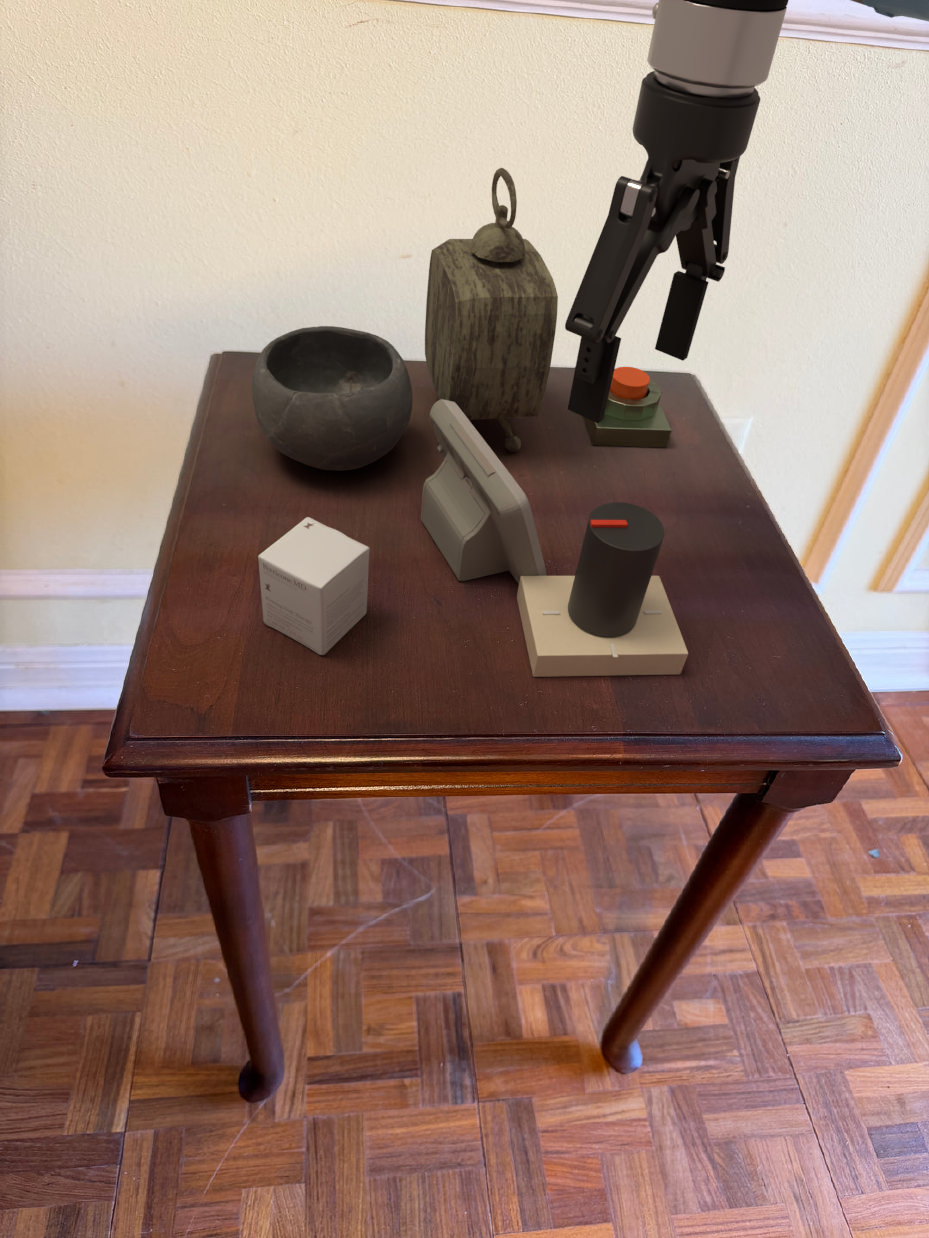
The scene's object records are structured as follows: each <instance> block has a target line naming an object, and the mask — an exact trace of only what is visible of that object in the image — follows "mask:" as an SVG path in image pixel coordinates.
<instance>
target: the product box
mask: <svg viewBox="0 0 929 1238" xmlns="http://www.w3.org/2000/svg"><path fill="white" fill-rule="evenodd" d="M370 550H371V549H370V547H369V546H368V545H366V544H363V543H361V542H359V541H358V540H355V539H353V538H351V537H349V536H347V535H346V534H344V533H343V532H341V531H340V530H338V529H335V528H333V527H330V526H327V525H326V524H323V523H322V522H319V521H317V520H315V519H314V518H312V517H309V516H306V517H305V518H304V519H302V520H301V521H300V522H299V523H298V524H296V525H295V526H293V528H291V529H290V530H289V531H288V532H286V533H285V534H283V536H281V537H280V538H279V539H277V541H275V542H273V543H272V544H271V545H269V547H267V548H266V549H265V550H264V551H262V552H261V553H259V554H258V556H257V559H258V561H257V562H258V573H259V584H260V595H261V608H262V621H263V623H264V624H265V625H266V627H267V626H268V627H269V628H271V629H273V630H276V631H278V632H279V633H281V634H283V635H284V636H288V637H289V638H291V639H293V640H294V641H296V642H297V643H299V644H301V645H303V646H305V647H306V648H308V649H309V650H311V651H312V652H314V653H316V654H318V655H319V656H325V655H326V654H327V653H328V652H329V651H330V650H331V649H332V648H333V647H334V646H335V645H336V644H337V643H338V642H339V641H340V640H341V639H343V637H344V636H345V635H346V634H347V633H348V632H349V631H350V630H351V629H352V628H353V627H355V625H356V624H358V622H360V621H361V620H362V619H363V618H364V616H366V615H367V614H368V613H367V611H368V595H369V573H370V571H369V570H370Z"/></svg>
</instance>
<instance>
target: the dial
mask: <svg viewBox="0 0 929 1238" xmlns="http://www.w3.org/2000/svg"><path fill="white" fill-rule="evenodd" d="M586 525H587V526H586V529H585V533H584V537H583V542H582V545H581V549H580V553H579V557H578V562H577V566H576V570H575V575H574V576H575V578H574V582H573V586H572V590H571V594H570V598H569V603H568V613H569V616H570V618H571V619H572V621H573V622H574V623H575V624H576V625H577V626H578V627H579V628H580V629H582V630H583V631H585V632H587V633H589V634H592V635H595V636H599V637H607V638H611V637H619V636H622V635H625V634H627V633H628V632H630V631H631V630H632V629H633V628H634V626H635V624H636V622H637V619H638V615H639V612H640V609H641V606H642V603H643V600H644V597H645V594H646V591H647V588H648V585H649V582H650V579H651V576H653V572H654V569H655V566H656V563H657V559H658V557H659V555H660V550H661V547H662V544H663V542H664V540H665V534H666V532H665V531H666V530H665V527H664V525H663V523H662V521H661V520H660V519H659V518H658V516H657V515H656V514H654V513H653V512H652V511H650V510H648V509H647V508H644V507H642V506H640V505H637V504H634V503H630V502H624V501H623V502H621V501H615V502H607V503H603V504H601V505H598V506H597V507H596V508H593V510H592V512H590V514H589V517H588V521H587V524H586Z"/></svg>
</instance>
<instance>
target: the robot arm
mask: <svg viewBox="0 0 929 1238" xmlns="http://www.w3.org/2000/svg"><path fill="white" fill-rule="evenodd" d="M850 1H852V2H854V3H858V4H861V5H863V6H867V7H868V8H872V9H873V10H874V11H875V12H874V13H877V14H879V15H882V16H884V17H888V18H891V19H893V18H895V17H896V18H897V17H904V18H909V19H914V20H915V19H916V20H920V21H924V22H929V0H850ZM789 2H790V1H789V0H658V2H656V3H654V6H653V7H652V10H651V17H652V18H653V20H654V22H653V23H654V24H653V27H652V28H653V29H652V33H651V38H650V44H649V48H648V53H647V58H646V61H647V63H648V65H649V67H650V68H651V69H652V70H653V71H650V72H649V73H647V75H646V76H645V77H643V79H642V80H641V83H640V90H639V93H638V100H637V105H636V109H635V115H634V119H633V125H632V135H633V138H634V140H635V141H636V142H637V143H638V144H639V145H640V146H642V147H643V149H644V150H645V151H646V154H647V160H646V162H645V165H644V168H643V171H642V173H641V176H640V178H639V180H636V179H634V178H630V177H627V176H625V175H621V176H619V178H618V179H617V180H616V182H615V186H614V190H613V193H612V197H611V198H612V199H611V201H610V206H609V209H608V213H607V217H606V219H605V222H604V225H603V227H602V229H601V232H600V235H599V236H598V239H597V242H596V244H595V247H594V250H593V253H592V255H591V257H590V260H589V262H588V264H587V267H586V270H585V272H584V275H583V277H582V280H581V283H580V284H579V288H578V290H577V293H576V295H575V298H574V300H573V303H572V305H571V308H570V310H569V312H568V315H567V317H566V320H565V323H564V329H565V330H566V331H567V332H570V333H571V334H573V335H577V336H579V337H580V342H579V347H578V352H577V357H576V362H575V367H574V373H573V377H572V378H573V379H572V384H571V388H570V394H569V399H568V404H567V410H568V411H570V412H572V413H574V414H577V415H579V416H581V417H583V418H584V417H585V418H587V419H589V420H591V421H594V422H596V423H599V422H601V421H602V420H603V418H604V413H605V409H606V405H607V400H608V396H609V391H610V387H611V382H612V378H613V373H614V370H615V369H616V364H617V359H618V356H619V350H620V346H621V342H622V337H619V336H617V333H618V332H619V330H620V328H621V326H622V324H623V322H624V320H625V318H626V316H627V314H628V312H629V310H630V309H631V307H632V305H633V303H634V301H635V299H636V297H637V295H638V293H639V292H640V289H642V285H643V284H644V281H645V280H646V278H647V276H648V274H649V272H650V270H651V268H652V266H653V265H654V263H655V262H656V259H657V257H658V256H659V255H660V254H664V253H666V252H667V251H668V250H669V249H670V247H671V245H672V243H673V242H674V240H675V239H676V245H677V251H678V256H679V261H680V267H681V269H682V270H684V272H683V271H680V270H677V271H676V272H674V273H673V276H672V280H671V283H670V288H669V291H668V296H667V300H666V303H665V308H664V311H663V314H662V320H661V322H660V327H659V331H658V335H657V338H656V343H655V347H654V350H655V351H657V352H660V353H663V354H665V355H668V356H670V357H672V358H675V359H677V360H680V361H682V362H683V361H685V360H686V359H688V356H689V352H690V350H691V346H692V342H693V339H694V335H695V332H696V328H697V324H698V321H699V317H700V314H701V311H702V308H703V307H702V306H703V303H704V301H705V297H706V293H707V289H708V286H709V280H712V281H716V282H718V283H719V282H720V281H721V280H722V279H723V277H724V274H725V272H726V267H725V266H722V265H723V264H724V263H725V262H726V261H727V259H728V257H729V251H730V240H731V227H732V217H733V205H734V195H735V193H734V192H735V184H736V183H735V182H736V175H737V171H738V169H739V168H738V167H739V164H740V160H741V156H742V155H744V154H745V152H746V150H747V148H748V144H749V142H750V138H751V134H752V132H753V131H752V130H753V127H754V123H755V121H756V117H757V113H758V110H759V106H760V103H761V97H760V95H759V91H758V90H757V88H756V87H758V86H760V85H762V84H764V83H765V82H766V81H767V80H768V78H769V75H770V71H771V67H772V64H773V59H774V56H775V54H776V53H775V52H776V49H777V45H778V42H779V38H780V35H781V31H782V27H783V23H784V20H785V16H786V12H787V9H788V7H787V6H788V4H789ZM715 243H716V244H715ZM717 263H718V264H717ZM707 279H709V280H708V281H707Z"/></svg>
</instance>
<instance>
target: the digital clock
mask: <svg viewBox="0 0 929 1238" xmlns="http://www.w3.org/2000/svg"><path fill="white" fill-rule="evenodd" d="M429 419H430V422H431V425H432V427H433V431H434V434H435V438H436V441H437V443H438V446H437V447H436V450H437V451H438V452H439V453H441V456H442V458H443V460H442V462H441V464H440V465H439V467H438V468H437V470H436V471H435V472H434V473H433V474H431V475H430V476H428V477H427V478H426V479H425V481H424V483H423V487H422V493H421V507H420V520H421V523H422V524H423V526H424V527H425V529H426V531H427V532H428V533H429V535H430V537H431V538H432V540H433V542H434V543H435V545H436V546H437V548H438V550H439V552H440V553H441V554H442V556H443V558H444V559H445V561H446V562H447V564H448V566H449V568H450V569H451V570H452V572H453V574H454V575H455V577H456V578H457V580H458V581H459V582H466V581H470V580H474V579H479V578H483V577H486V576H487V577H488V576H491V575H495V574H500V573H504V572H509V573H510V574H511V575H512V577H513V578H514V580H515V581H516V582H517V584H518V585H519V582H520V577H521V576H547V569H546V563H545V560H544V556H543V552H542V548H541V544H540V540H539V536H538V532H537V527H536V524H535V520H534V516H533V511H532V507H531V504H530V501H529V499H528V497H527V494H525V491H524V490H523V488H521V486H520V485H519V484H518V482H517V481H516V480H515V478H514V477H513V476H512V474H511V473H510V472H509V470H508V469H507V468H506V467H505V465H504V464H503V462H502V461H501V460H500V458H498V456H497V454H496V453H495V452H494V451H493V449H492V448H491V447H490V445H489V444H488V443H487V442H486V440H485V439H484V438H483V436H482V435H481V434H480V432H479V431H478V430H477V429H476V427H475V426H474V424H472V422H471V420H468V418H467V417H466V416H465V414H464V413H463V412H462V411H461V409H460V408H459V407H458V405H457V404H456V403H455V402H452V401H448V400H443V399H441V400H439V399H438V400H436V402H434V403H433V405H432V407H431V408H430V412H429Z"/></svg>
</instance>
